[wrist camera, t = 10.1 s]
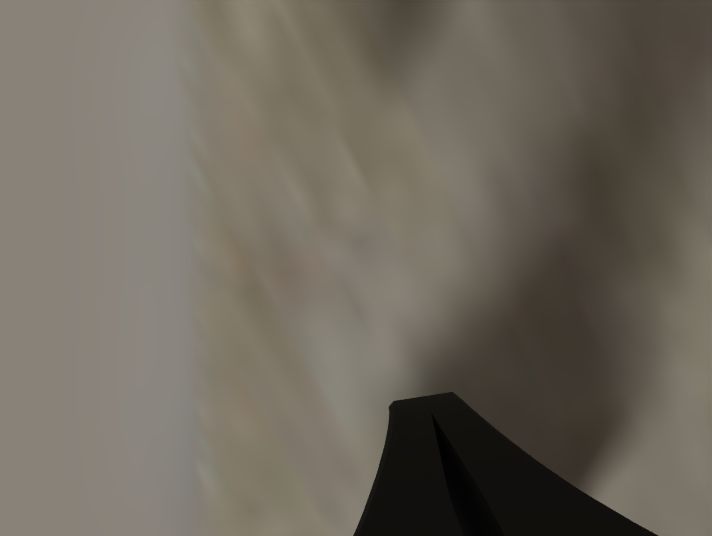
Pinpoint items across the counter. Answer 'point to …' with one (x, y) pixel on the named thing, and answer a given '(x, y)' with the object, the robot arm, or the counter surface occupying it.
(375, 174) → the counter surface
